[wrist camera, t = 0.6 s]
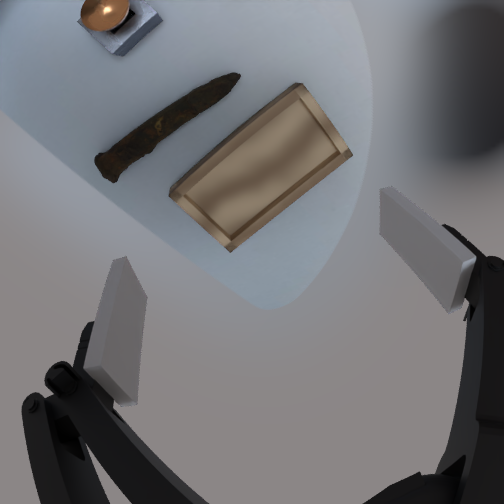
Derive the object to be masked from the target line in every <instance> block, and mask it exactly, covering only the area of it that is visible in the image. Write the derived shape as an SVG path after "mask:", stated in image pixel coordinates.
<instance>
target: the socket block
mask: <svg viewBox="0 0 504 504" xmlns="http://www.w3.org/2000/svg"><path fill="white" fill-rule="evenodd" d="M129 2H130V7H129V8H130V9H131V10H132V11H133V12H135V13H136V14H135V15H134V16H133V17H132V18H131V19H130V20H129V21H128V22H127V23H125V24H124V25H123V26H122V27H121V28H120V29H119V30H118V31H117V32H116V31H115V30H114V29H111V30H108V31H103V32H98V31H94V30H91V29H89V28H87V27H86V26H85V25H84V24H83V22H82V20H81V18H80V19H79V20H78V21H77V22H78V23H79V24H80V25H81V26H82V27H83V28H85V29H86V30H87V31H88V32H89V33H90V34H91V35H92V36H93V37H94V38H95V39H97V40H98V41H99V42H100V43H101V44H102V45H103V46H104V47H105V48H106V49H107V50H108V51H109V52H111V53H112V54H115V55H120V56H124V55H125V54H126V53H127V52H128V51H129V50H131V49H132V48H133V47H134V46H135V45H136V44H137V43H138V42H139V41H140V40H141V39H142V38H143V37H145V36H146V35H147V34H148V33H149V32H150V31H151V30H152V29H154V28H155V27H156V26H157V25H158V24H159V23H161V22H162V21H163V20H162V19H161V17H160V16H159V14H158V13H157V12H156V11H155V10H154V9H153V8H152V7H151V6H150V5H148V4H147V3H146V2H145V1H144V0H129Z"/></svg>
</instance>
